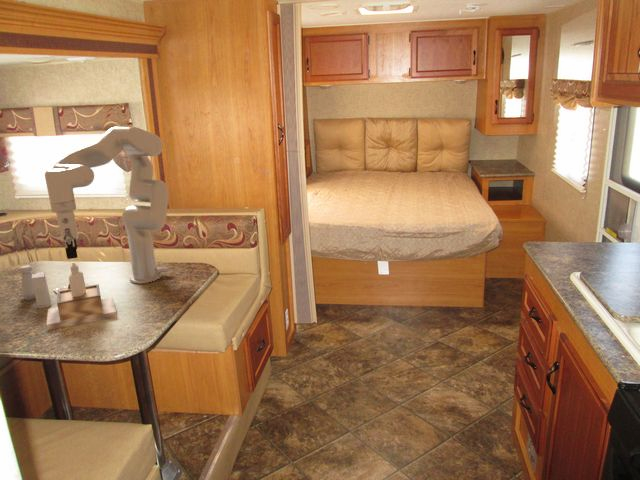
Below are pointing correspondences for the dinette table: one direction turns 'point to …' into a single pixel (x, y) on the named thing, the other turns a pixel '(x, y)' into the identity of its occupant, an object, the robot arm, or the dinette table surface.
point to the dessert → (65, 288)
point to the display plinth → (80, 320)
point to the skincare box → (41, 290)
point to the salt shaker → (27, 283)
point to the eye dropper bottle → (76, 282)
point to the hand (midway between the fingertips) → (72, 253)
